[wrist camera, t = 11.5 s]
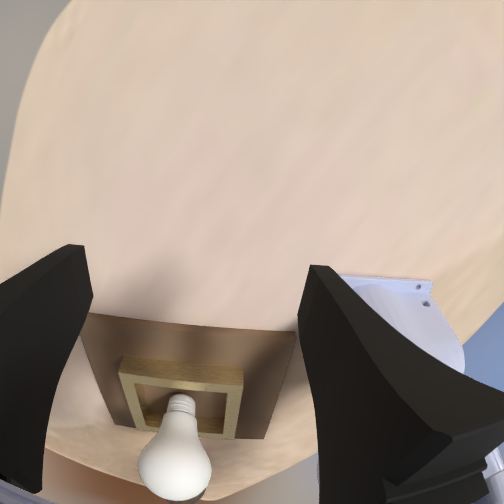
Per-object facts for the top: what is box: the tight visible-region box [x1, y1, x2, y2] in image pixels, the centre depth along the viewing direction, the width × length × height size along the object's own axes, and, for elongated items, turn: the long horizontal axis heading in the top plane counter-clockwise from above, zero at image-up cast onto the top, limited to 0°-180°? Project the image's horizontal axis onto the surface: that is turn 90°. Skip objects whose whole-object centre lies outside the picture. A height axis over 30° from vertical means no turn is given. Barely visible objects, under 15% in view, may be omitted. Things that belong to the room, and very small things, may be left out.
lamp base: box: [80, 313, 296, 439], centre depth 29 cm, size 18×18×1 cm
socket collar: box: [118, 355, 243, 439], centre depth 28 cm, size 10×10×2 cm
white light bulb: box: [138, 394, 212, 501], centre depth 24 cm, size 6×6×11 cm
